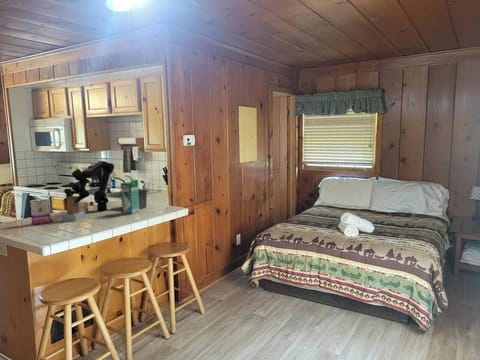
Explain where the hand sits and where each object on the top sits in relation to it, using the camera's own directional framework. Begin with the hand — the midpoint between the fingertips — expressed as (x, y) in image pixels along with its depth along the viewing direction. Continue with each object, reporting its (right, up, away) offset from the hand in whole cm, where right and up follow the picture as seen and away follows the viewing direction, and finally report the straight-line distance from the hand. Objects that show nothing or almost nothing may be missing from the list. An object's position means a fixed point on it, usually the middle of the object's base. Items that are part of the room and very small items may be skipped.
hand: (71, 202), depth 249 cm
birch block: (-2, -10, +25) cm, 27 cm away
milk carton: (+36, -9, +21) cm, 43 cm away
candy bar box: (-16, -14, -9) cm, 23 cm away
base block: (+1, -13, +3) cm, 13 cm away
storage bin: (+33, -7, +42) cm, 54 cm away
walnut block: (+1, -8, +2) cm, 8 cm away
